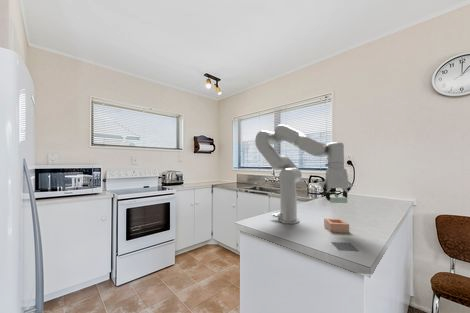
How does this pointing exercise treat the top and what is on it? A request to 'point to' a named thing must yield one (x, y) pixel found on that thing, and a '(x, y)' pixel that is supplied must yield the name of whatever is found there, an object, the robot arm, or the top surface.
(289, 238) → the top surface
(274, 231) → the top surface
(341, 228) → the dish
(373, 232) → the top surface
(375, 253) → the top surface
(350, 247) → the mat
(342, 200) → the green block with hole
